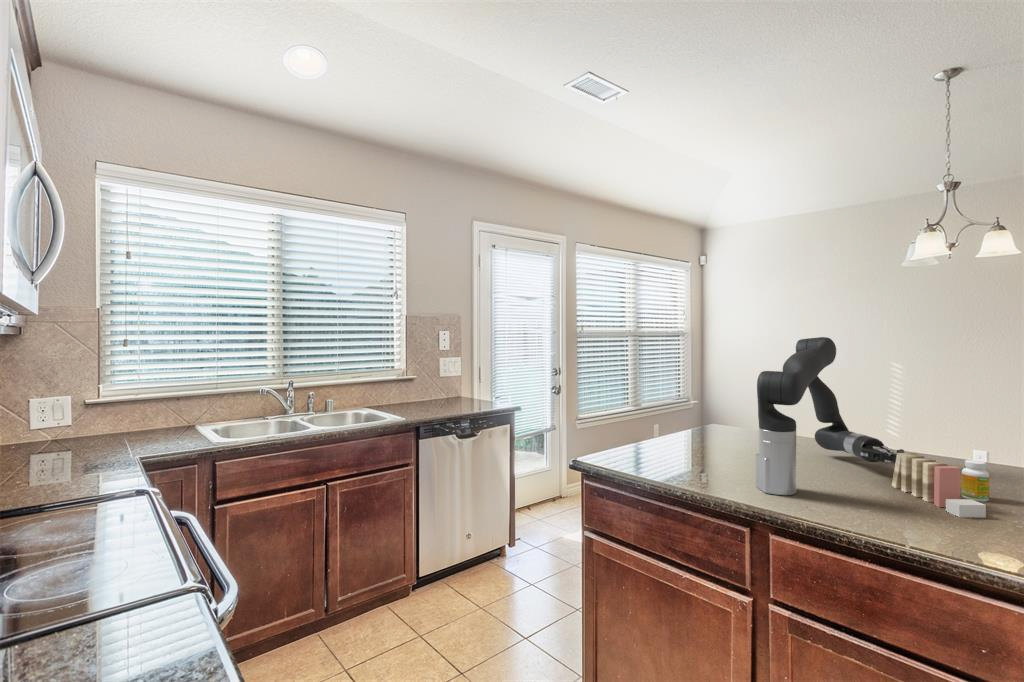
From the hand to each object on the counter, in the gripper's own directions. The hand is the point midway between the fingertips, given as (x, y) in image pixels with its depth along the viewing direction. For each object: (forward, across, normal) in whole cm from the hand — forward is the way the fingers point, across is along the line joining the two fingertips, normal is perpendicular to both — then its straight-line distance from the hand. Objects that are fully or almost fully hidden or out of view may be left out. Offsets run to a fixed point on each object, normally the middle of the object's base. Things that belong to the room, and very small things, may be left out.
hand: (904, 461), depth 141 cm
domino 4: (+11, 0, +8) cm, 13 cm away
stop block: (+20, 0, +8) cm, 21 cm away
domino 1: (0, 0, +7) cm, 7 cm away
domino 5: (+15, 0, +8) cm, 16 cm away
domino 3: (+7, 0, +8) cm, 10 cm away
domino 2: (+3, 0, +8) cm, 8 cm away
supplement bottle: (+8, +12, +8) cm, 17 cm away
